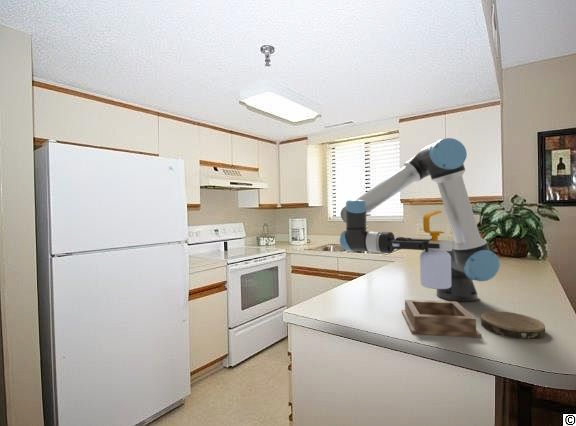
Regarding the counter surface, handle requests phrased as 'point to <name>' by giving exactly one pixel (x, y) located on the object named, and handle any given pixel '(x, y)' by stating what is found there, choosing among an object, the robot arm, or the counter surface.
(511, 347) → the counter surface
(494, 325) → the wood slice
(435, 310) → the walnut caddy
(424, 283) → the soap bottle
